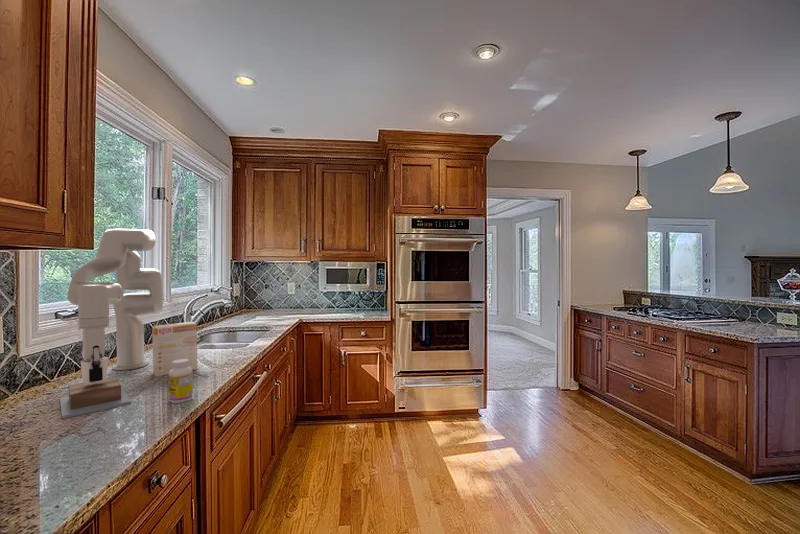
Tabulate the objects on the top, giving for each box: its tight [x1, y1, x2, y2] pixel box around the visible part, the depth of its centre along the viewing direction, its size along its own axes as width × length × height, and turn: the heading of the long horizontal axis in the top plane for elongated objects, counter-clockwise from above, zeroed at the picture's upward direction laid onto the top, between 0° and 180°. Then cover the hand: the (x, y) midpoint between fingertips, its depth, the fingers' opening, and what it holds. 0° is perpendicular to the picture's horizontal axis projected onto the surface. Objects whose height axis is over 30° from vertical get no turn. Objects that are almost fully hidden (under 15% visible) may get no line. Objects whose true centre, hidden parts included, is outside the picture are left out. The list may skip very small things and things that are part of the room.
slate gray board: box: [59, 385, 132, 420], centre depth 116 cm, size 20×16×1 cm
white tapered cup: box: [80, 356, 109, 384], centre depth 116 cm, size 7×7×7 cm
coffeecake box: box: [151, 321, 199, 377], centre depth 149 cm, size 15×7×20 cm, turn 133°
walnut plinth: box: [68, 376, 122, 410], centre depth 116 cm, size 12×12×5 cm
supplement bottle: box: [168, 359, 194, 404], centre depth 117 cm, size 7×7×13 cm
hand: (95, 378), depth 116 cm, fingers closed on white tapered cup, 5 cm apart
